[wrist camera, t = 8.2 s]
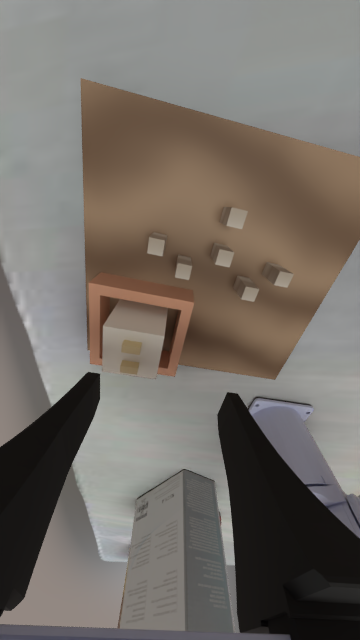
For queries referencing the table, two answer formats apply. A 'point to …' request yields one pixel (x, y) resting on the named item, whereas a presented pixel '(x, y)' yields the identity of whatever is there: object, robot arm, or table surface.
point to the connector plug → (134, 339)
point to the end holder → (143, 293)
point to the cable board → (216, 223)
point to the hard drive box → (178, 560)
